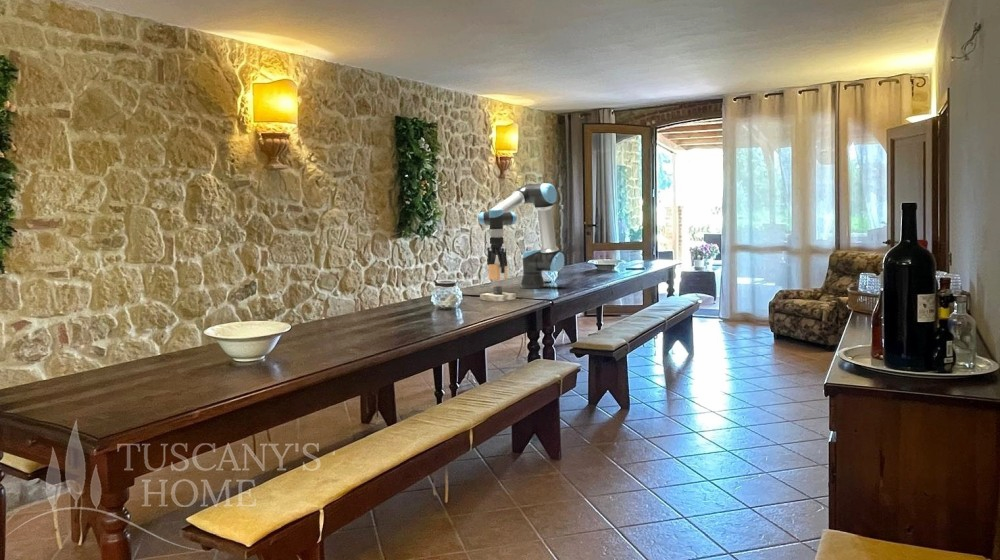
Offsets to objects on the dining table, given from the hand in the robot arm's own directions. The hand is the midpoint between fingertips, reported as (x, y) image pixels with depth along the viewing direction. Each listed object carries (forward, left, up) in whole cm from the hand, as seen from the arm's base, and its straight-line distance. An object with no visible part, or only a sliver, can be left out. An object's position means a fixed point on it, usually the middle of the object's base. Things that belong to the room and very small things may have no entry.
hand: (497, 278), depth 385 cm
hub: (0, 0, -12) cm, 12 cm away
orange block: (0, 0, 0) cm, 0 cm away
